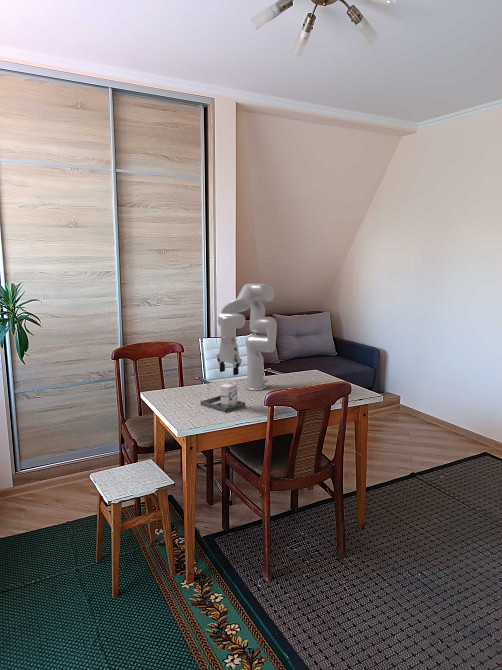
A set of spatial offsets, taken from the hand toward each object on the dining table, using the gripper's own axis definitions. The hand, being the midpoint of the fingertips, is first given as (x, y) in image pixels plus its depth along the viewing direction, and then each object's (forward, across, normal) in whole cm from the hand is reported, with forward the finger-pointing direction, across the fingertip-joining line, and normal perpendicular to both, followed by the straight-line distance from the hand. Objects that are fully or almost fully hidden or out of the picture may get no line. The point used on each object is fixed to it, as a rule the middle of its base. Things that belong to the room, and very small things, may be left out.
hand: (229, 373), depth 238 cm
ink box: (+18, 0, +1) cm, 18 cm away
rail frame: (+18, +4, +1) cm, 18 cm away
